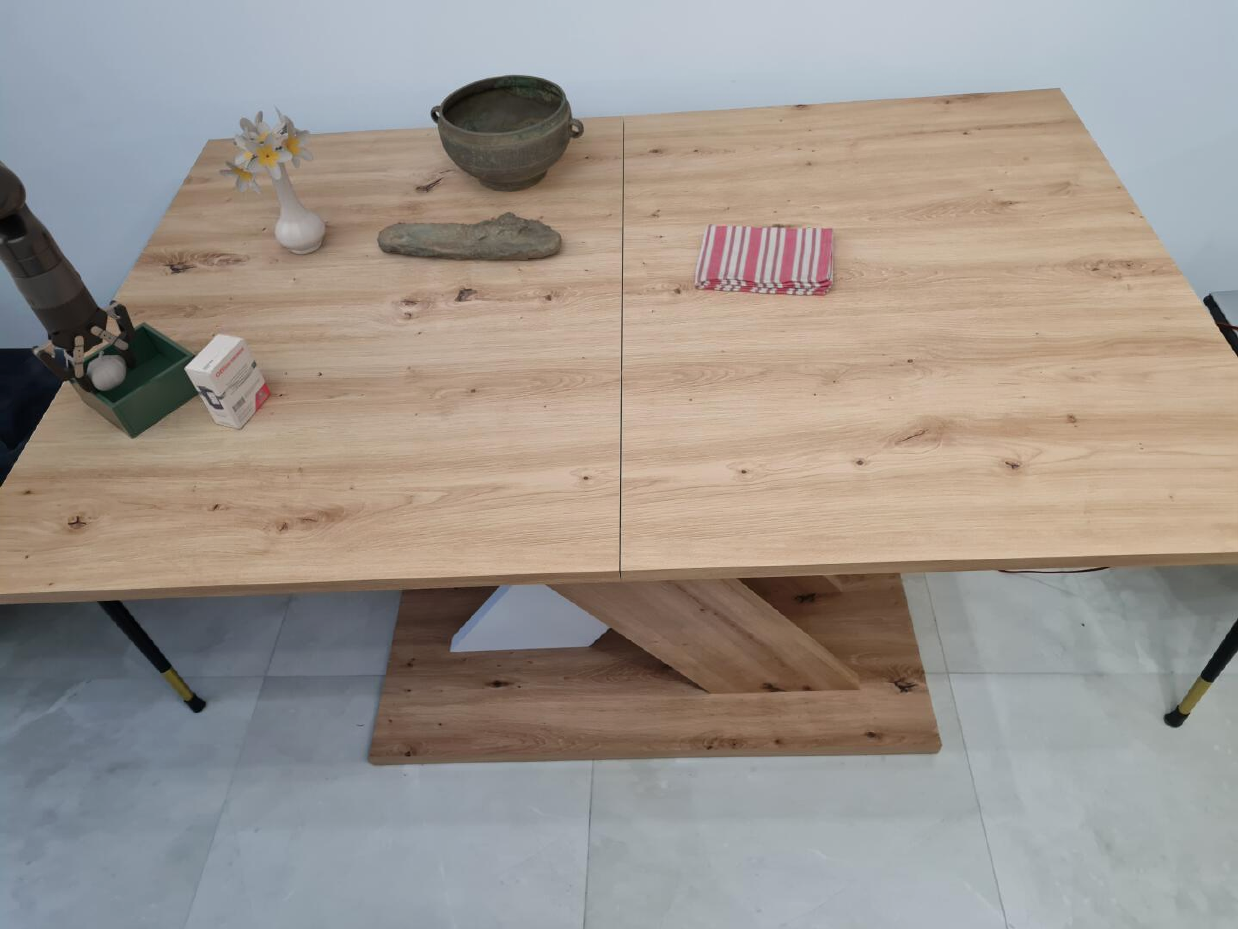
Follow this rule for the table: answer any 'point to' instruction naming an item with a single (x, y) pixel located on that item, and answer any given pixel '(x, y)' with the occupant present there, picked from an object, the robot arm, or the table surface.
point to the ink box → (228, 380)
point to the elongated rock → (473, 239)
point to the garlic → (107, 371)
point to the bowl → (506, 129)
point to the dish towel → (766, 260)
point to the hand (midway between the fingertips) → (112, 378)
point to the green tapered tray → (143, 383)
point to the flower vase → (278, 178)
